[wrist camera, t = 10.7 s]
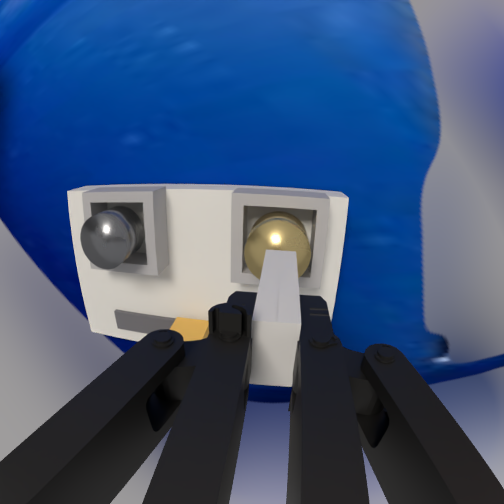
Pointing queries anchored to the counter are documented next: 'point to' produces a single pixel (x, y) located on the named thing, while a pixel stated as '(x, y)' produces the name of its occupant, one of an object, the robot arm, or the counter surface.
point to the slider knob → (191, 328)
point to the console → (196, 250)
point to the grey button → (111, 236)
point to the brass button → (277, 241)
